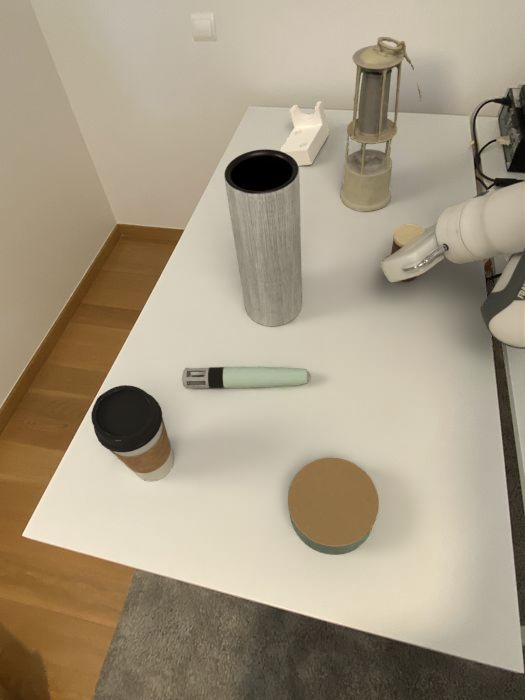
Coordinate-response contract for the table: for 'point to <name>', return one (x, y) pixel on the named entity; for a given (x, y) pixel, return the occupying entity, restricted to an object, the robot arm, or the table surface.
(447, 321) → the table surface
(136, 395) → the coffee cup
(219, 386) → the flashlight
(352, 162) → the lamp
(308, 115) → the bracket
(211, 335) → the table surface
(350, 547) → the coffee tin
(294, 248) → the vase
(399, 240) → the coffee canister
